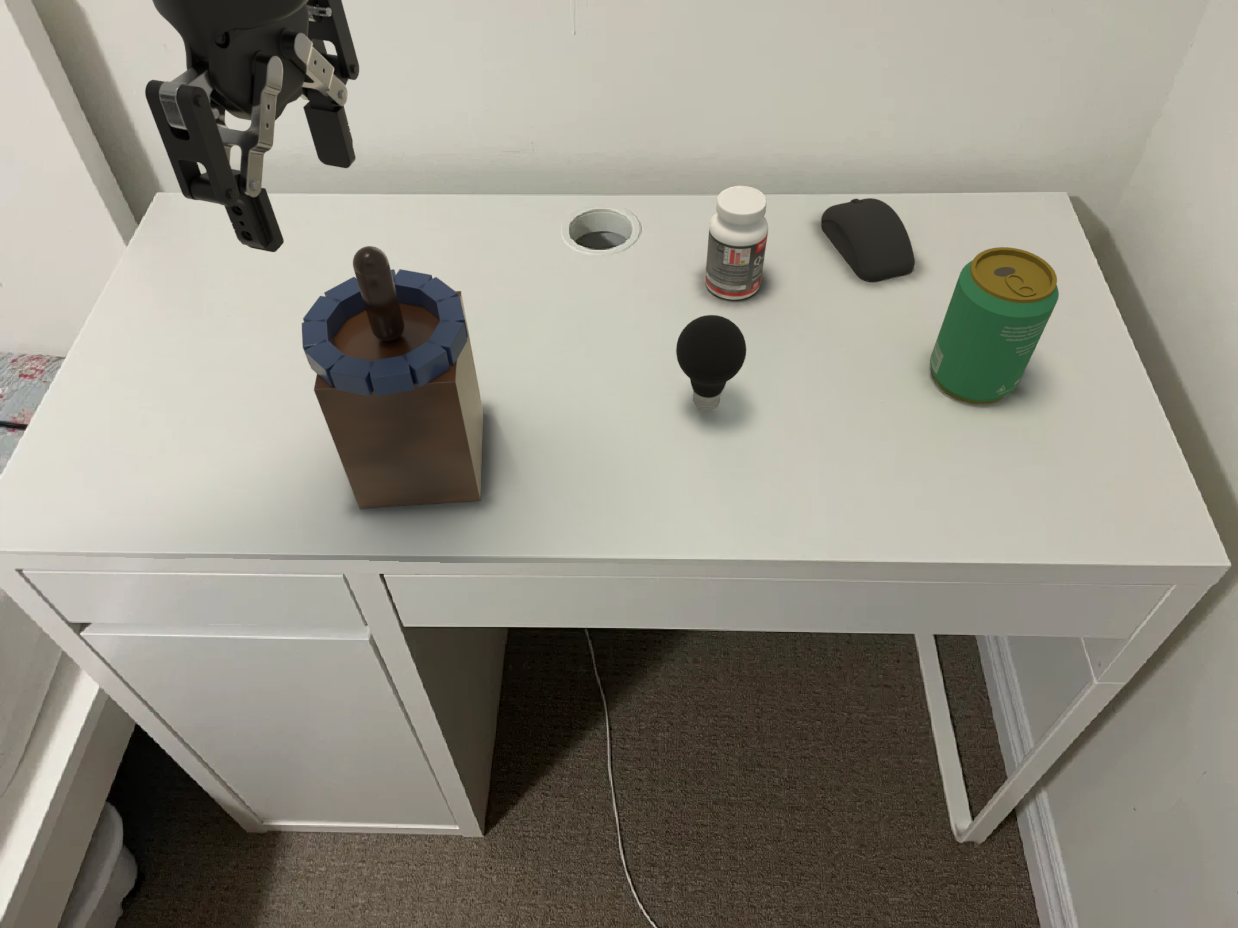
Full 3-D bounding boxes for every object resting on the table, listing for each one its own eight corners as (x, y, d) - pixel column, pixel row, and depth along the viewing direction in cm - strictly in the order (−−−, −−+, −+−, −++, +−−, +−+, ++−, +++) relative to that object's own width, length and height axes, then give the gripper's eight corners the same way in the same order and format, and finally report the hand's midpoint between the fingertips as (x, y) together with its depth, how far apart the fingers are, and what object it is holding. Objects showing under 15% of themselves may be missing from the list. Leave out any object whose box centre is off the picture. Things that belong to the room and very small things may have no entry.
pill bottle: (762, 302, 91) (774, 218, 83) (705, 301, 91) (712, 218, 83) (758, 265, 95) (769, 182, 87) (703, 265, 95) (710, 182, 87)
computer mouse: (867, 210, 101) (874, 178, 98) (918, 271, 94) (928, 239, 91) (815, 221, 99) (821, 189, 96) (863, 284, 93) (871, 252, 90)
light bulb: (749, 421, 81) (762, 337, 73) (689, 439, 79) (695, 356, 72) (720, 377, 84) (730, 293, 77) (662, 394, 83) (666, 310, 75)
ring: (311, 408, 63) (304, 390, 62) (306, 302, 70) (299, 284, 69) (477, 378, 65) (473, 360, 63) (455, 277, 72) (452, 259, 71)
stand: (359, 508, 75) (279, 302, 58) (371, 418, 81) (303, 209, 64) (480, 500, 75) (437, 293, 58) (483, 412, 82) (445, 202, 65)
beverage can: (983, 338, 87) (1025, 234, 78) (1034, 394, 83) (1085, 291, 73) (910, 358, 86) (944, 254, 76) (958, 417, 81) (1001, 314, 72)
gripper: (219, -166, 46) (307, 131, 58) (24, -55, 37) (176, 265, 50) (353, -152, 44) (414, 149, 57) (183, -34, 36) (299, 291, 48)
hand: (303, 203), depth 53 cm, fingers open, 8 cm apart
